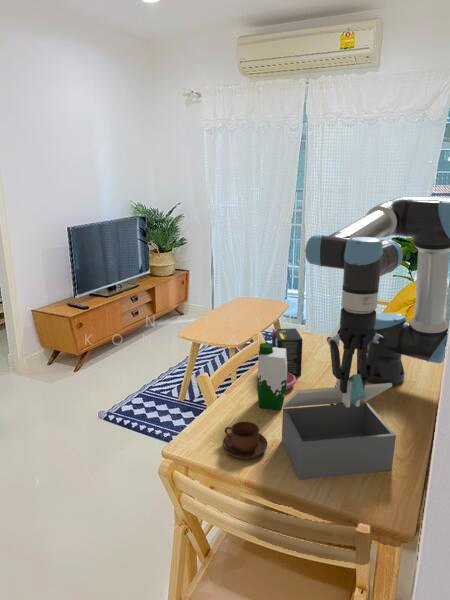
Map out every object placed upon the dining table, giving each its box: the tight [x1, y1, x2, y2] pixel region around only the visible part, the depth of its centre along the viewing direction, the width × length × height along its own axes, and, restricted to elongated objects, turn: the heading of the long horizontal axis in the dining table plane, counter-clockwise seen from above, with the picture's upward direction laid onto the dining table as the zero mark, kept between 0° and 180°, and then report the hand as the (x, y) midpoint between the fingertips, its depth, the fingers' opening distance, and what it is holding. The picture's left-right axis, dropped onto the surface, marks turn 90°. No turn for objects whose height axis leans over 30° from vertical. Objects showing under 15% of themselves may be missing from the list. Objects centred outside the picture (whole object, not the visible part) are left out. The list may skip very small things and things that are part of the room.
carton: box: [281, 401, 397, 481], centre depth 114 cm, size 24×16×10 cm, turn 98°
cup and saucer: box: [222, 421, 268, 460], centre depth 118 cm, size 12×12×6 cm
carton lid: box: [282, 373, 393, 409], centre depth 109 cm, size 24×25×5 cm
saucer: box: [286, 372, 296, 391], centre depth 153 cm, size 12×12×3 cm
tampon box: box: [271, 328, 303, 377], centre depth 162 cm, size 11×9×15 cm
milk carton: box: [257, 342, 287, 411], centre depth 138 cm, size 9×9×20 cm
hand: (350, 403), depth 103 cm, fingers closed on carton lid, 2 cm apart
